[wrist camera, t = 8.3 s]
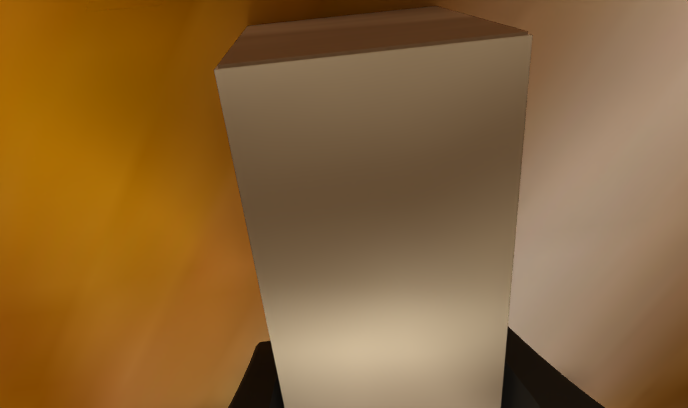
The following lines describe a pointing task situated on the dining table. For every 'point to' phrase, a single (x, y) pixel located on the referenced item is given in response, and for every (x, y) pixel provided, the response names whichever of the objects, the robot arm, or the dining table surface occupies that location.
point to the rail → (381, 200)
